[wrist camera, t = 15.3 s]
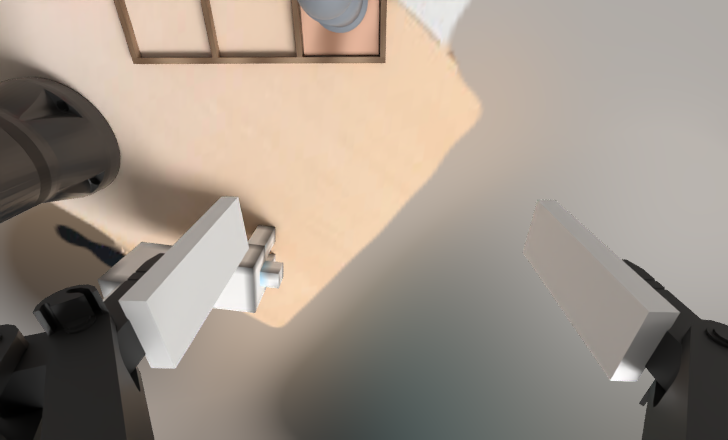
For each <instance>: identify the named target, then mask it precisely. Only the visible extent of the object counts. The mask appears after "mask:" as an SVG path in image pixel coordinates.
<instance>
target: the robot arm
mask: <svg viewBox="0 0 728 440" xmlns="http://www.w3.org/2000/svg"><path fill="white" fill-rule="evenodd" d="M119 167H120V152H119V147H118V143H117V140H116V138H115V135H114V133H113V131H112V129H111V128H110V126H109V124H108V123H107V121H106V120H105V119H104V117H103V116H102V115H101V114H100V112H99V111H98V110H97V109H96V108H95V107H94V106H93V105H92V104H91V103H90V102H89V101H87V100H86V99H85V98H84V97H82V96H81V95H80V94H78V93H77V92H75V91H74V90H72V89H70V88H68V87H66V86H64V85H62V84H60V83H57V82H55V81H52V80H48V79H43V78H36V77H29V78H19V79H11V80H6V81H2V82H0V223H2V222H4V221H6V220H8V219H10V218H12V217H14V216H16V215H18V214H20V213H22V212H24V211H26V210H28V209H30V208H32V207H34V206H37V205H38V204H41V203H46V202H53V201H60V200H67V199H74V198H80V197H85V196H88V195H91V194H93V193H95V192H97V191H99V190H101V189H103V188H105V187H106V186H108V185H109V184H110V183H111V182H112V181H113V180H114V179H115V177H116V176H117V173H118V171H119ZM248 249H249V245H248V241H247V236H246V231H245V227H244V222H243V217H242V212H241V208H240V203H239V198H238V197H220V198H219V199H218V200H217V202H216V203H215V204H214V205H213V206H212V207H211V208H210V209H209V210H208V211H207V212H206V213H205V214H204V215H203V216H202V217H201V218H200V219H199V220H198V221H197V222H196V223H195V224H194V225H193V226H192V227H191V228H190V229H189V230H188V231H187V232H186V233H185V234H184V235H183V236H182V237H181V238H180V239H179V240H178V241H177V242H176V243H175V244H174V245H173V246H172V247H171V248H170V249H169V250H168V251H167V252H166V253H159V254H157V255H156V256H154V257H152V258H150V259H149V260H147V261H145V262H144V263H143V264H142V265H141V266H140V267H139V268H138V269H137V270H136V273H133V274H132V275H131V276H130V277H129V278H128V280H127V281H125V282H124V283H123V284H121V285H120V286H119V287H118V288H117V289H116V290H115V291H114V292H113V293H112V294H111V295H110V296H109V297H108V298H107V299H106V300H105V301H104V302H103V300H102V298H101V297H100V294H99V293H98V291H97V289H96V288H95V287H94V286H91V285H77V286H73V287H69V288H65V289H63V290H60V291H58V292H56V293H54V294H52V295H50V296H49V297H47V298H45V299H44V300H42V301H41V302H40V303H39V304H38V305H37V306H36V307H35V309H34V311H33V314H34V315H35V317H36V318H37V320H38V321H39V323H40V324H41V326H42V327H43V329H44V330H45V332H44V333H39V334H34V335H29V336H23V335H22V333H21V332H20V331H19V329H18V328H17V327H16V326H15V325H9V324H6V325H0V440H154V435H153V431H152V426H151V421H150V416H149V411H148V407H147V402H146V398H145V392H144V387H143V383H142V378H141V373H140V371H139V369H138V368H137V365H138V364H139V362H140V361H141V360H142V358H143V357H144V356H146V358H147V360H148V362H149V364H150V366H151V368H176V367H177V365H178V363H179V362H180V360H181V359H182V357H183V355H184V354H185V352H186V350H187V349H188V347H189V346H190V344H191V342H192V341H193V339H194V337H195V336H196V334H197V332H198V331H199V329H200V328H201V326H202V324H203V323H204V321H205V319H206V318H207V316H208V314H209V313H210V311H211V310H212V308H213V306H214V305H215V303H216V301H217V300H218V298H219V297H220V295H221V293H222V292H223V290H224V288H225V287H226V285H227V284H228V282H229V280H230V279H231V277H232V275H233V274H234V272H235V270H236V269H237V267H238V266H239V264H240V262H241V261H242V259H243V257H244V256H245V254H246V253H247V251H248ZM523 254H524V255H525V256H526V258H527V259H528V261H529V262H530V264H531V265H532V267H533V268H534V270H535V271H536V272H537V274H538V276H539V277H540V278H541V280H542V281H543V283H544V284H545V286H546V287H547V289H548V290H549V292H550V293H551V295H552V296H553V297H554V299H555V301H556V302H557V303H558V305H559V306H560V308H561V309H562V311H563V312H564V314H565V315H566V316H567V318H568V320H569V321H570V322H571V324H572V325H573V327H574V328H575V330H576V331H577V333H578V334H579V336H580V337H581V339H582V340H583V342H584V343H585V344H586V346H587V347H588V349H589V350H590V352H591V353H592V355H593V356H594V358H595V359H596V361H597V362H598V364H599V365H600V366H601V368H602V369H603V371H604V372H605V374H606V375H607V376H608V378H609V380H610V381H637V380H638V379H639V377H640V376H641V374H642V372H643V371H644V369H645V368H647V369H648V371H649V372H650V373H651V374H652V375H653V377H654V378H655V380H654V382H653V383H652V385H651V386H650V388H649V389H648V391H647V392H646V394H645V395H644V397H643V398H642V400H641V401H640V403H639V404H641V405H643V406H644V405H645V404H646V402H648V403H647V409H646V415H645V422H644V429H643V435H642V440H728V326H727V325H725V324H722V323H718V322H715V321H712V320H701V319H700V318H699V317H698V316H697V315H695V314H694V313H693V312H692V311H691V310H690V309H689V308H687V307H686V306H685V305H684V304H683V303H682V302H680V301H679V300H678V299H677V298H676V297H675V296H674V295H672V294H671V293H670V292H669V291H668V290H665V289H664V287H663V286H662V285H661V284H660V283H658V282H657V281H655V280H654V278H653V277H652V276H650V275H649V274H648V273H647V272H646V271H645V270H643V269H642V268H640V267H639V266H637V265H635V264H633V263H631V262H629V261H628V260H621V259H620V258H619V257H618V256H617V255H616V254H615V253H614V252H613V251H611V250H610V249H609V248H608V247H607V246H606V245H605V244H604V243H603V242H601V241H600V240H599V239H598V238H597V237H596V236H595V235H593V233H591V232H590V231H589V230H588V229H587V228H586V227H585V226H584V225H583V224H581V223H580V222H579V221H578V220H577V219H576V218H575V217H574V216H573V215H572V214H570V213H569V212H568V211H567V210H566V209H565V208H564V207H563V206H562V205H560V204H559V203H558V202H557V201H556V200H537V203H536V206H535V210H534V214H533V217H532V221H531V224H530V228H529V232H528V236H527V239H526V242H525V246H524V250H523Z"/></svg>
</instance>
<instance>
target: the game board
mask: <svg viewBox="0 0 728 440" xmlns="http://www.w3.org/2000/svg"><path fill="white" fill-rule="evenodd" d="M291 2H292V12H293V23H294V34H295V44H296V55H297V57H220V52H219V47H218V42H217V37H216V32H215V27H214V22H213V16H212V11H211V6H210V1H209V0H201V5H202V10H203V15H204V20H205V25H206V29H207V34H208V39H209V44H210V49H211V54H212V57H202V58H141V55H140V51H139V48H138V45H137V41H136V38H135V35H134V31H133V28H132V25H131V21H130V18H129V15H128V11H127V8H126V5H125V2H124V0H114V3H115V6H116V9H117V12H118V15H119V19H120V22H121V25H122V28H123V31H124V34H125V38H126V41H127V44H128V47H129V50H130V54H131V57H132V60H133V63H134V64H246V63H385V53H386V11H387V0H381V24H380V57H303V46H302V34H301V23H300V11H299V3H298V1H297V0H291ZM300 9H301V21H302V32H303V44H304V55H378V50H379V0H368V7H367V11H366V14H365V16H364V18H363V20H362V21H361V23H360V24H359V25H358V26H357V27H356V28H355V29H353V30H351V31H349V32H345V33H336V32H332V31H329V30H327V29H326V28H324V27H323V26H322V25H321V24H320V23H319V22H317V21H315V20H314V19H312V18H311V17H310V16H309V15H308V14H306V12H305V11H304V10H303V8H302V7H301V6H300Z"/></svg>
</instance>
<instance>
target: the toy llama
mask: <svg viewBox="0 0 728 440" xmlns="http://www.w3.org/2000/svg"><path fill="white" fill-rule="evenodd" d="M274 243H275V227H270V226H262V225H258V226H257V228H256V230H255V231H254V233H253V234H252V236H251V237H250V239H249V241H248V245H249V249H248V251H247V253H246V254H245V256H244V257H243V259H242V261H241V262H240V264H239V266H238V267H237V269H236V270H235V272H234V274H233V275H232V277H231V279H230V280H229V282H228V284H227V285H226V287H225V288H224V290H223V292H222V293H221V295H220V297H219V298H218V300H217V301H216V303H215V305H214V306H213V308H219V309H227V310H235V311H243V312H252V313H255V312H256V310H257V307H258V305H259V303H260V301H261V298H262V296H263V294H264V292H265V289H266V287H272V288H279V286H280V284H281V281H282V279H283V263H281V262H275V254H269V253H270V251H271V249H272V247H273V245H274ZM171 247H172V246H171V245H163V244H155V243H147V242H141V243H140V244H139V245H137V246H136V247H135V248H134V249H133V250H132V251H130V252H129V253H128V254H127V255H126V256H125V257H124V258H122V259H121V260H120V261H119V262H118V263H117V264H115V265H114V266H113V267H112V268H111V269H110V270H108V271H107V272H106V273H105V274H104V275H103V276H101V277H100V278H99V279H98V282H99V285H100V288H101V291H102V293H103V296H104V299H103V302H104V301H105V300H106V299H107V298H108V297H109V296H110V295H111V294H112V293H113V292H114V291H115V290H116V289H117V288H118V287H119V286H120V285H121V284H123V283H124V282H125V281H127V280H128V278H129V277H130V276H131V275H132V274H133V273H136V270H137V269H138V268H139V267H140V266H141V265H142V264H143V263H144V262H145V261H147V260H149V259H150V258H152V257H154V256H156V255H157V254H159V253H166V252H167V251H168V250H169V249H170V248H171Z"/></svg>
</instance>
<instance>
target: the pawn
mask: <svg viewBox="0 0 728 440" xmlns="http://www.w3.org/2000/svg"><path fill="white" fill-rule="evenodd" d="M297 1H298V3H299V4H300V6H301V7H302V8H303V10H304V11H305V12H306V14H308V15H309V16H310V17H311V18H312V19H314V20H315V21H317V22H319V23H320V24H321V25H322V26H323V27H324V28H326V29H327V30H329V31H332V32H336V33H345V32H349V31H351V30H353V29H355V28H356V27H357V26H358V25H359V24H360V23H361V21H362V20H363V18H364V16H365V14H366V11H367V7H368V0H297Z"/></svg>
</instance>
